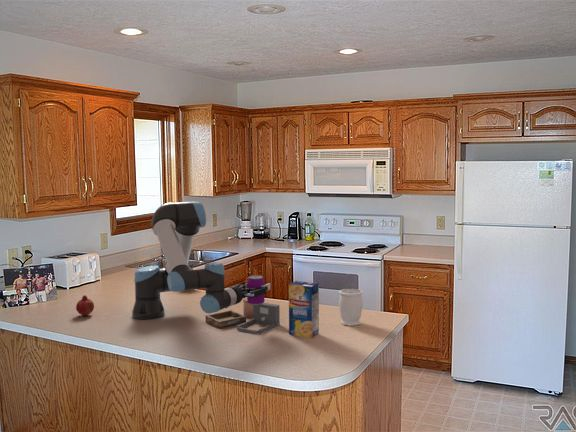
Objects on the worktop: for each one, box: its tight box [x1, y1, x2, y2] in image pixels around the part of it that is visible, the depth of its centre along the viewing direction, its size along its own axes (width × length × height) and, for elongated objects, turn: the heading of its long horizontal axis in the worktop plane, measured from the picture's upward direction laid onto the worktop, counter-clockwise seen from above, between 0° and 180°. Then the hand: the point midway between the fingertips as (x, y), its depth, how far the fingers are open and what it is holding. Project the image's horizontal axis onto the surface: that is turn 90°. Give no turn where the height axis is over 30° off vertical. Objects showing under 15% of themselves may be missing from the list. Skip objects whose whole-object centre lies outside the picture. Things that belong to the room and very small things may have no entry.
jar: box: [338, 288, 364, 327], centre depth 244 cm, size 11×10×15 cm
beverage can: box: [246, 274, 266, 305], centre depth 237 cm, size 8×8×12 cm
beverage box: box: [288, 280, 320, 339], centre depth 229 cm, size 7×11×22 cm, turn 61°
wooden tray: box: [204, 309, 247, 329], centre depth 248 cm, size 13×14×3 cm
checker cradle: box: [236, 302, 281, 335], centre depth 240 cm, size 12×16×9 cm
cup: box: [242, 297, 253, 319], centre depth 257 cm, size 6×6×8 cm
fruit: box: [75, 295, 95, 317], centre depth 260 cm, size 8×8×10 cm
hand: (261, 285), depth 241 cm, fingers closed on beverage can, 8 cm apart
